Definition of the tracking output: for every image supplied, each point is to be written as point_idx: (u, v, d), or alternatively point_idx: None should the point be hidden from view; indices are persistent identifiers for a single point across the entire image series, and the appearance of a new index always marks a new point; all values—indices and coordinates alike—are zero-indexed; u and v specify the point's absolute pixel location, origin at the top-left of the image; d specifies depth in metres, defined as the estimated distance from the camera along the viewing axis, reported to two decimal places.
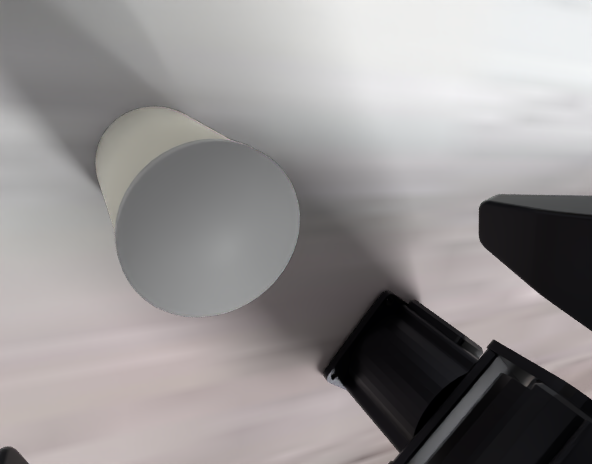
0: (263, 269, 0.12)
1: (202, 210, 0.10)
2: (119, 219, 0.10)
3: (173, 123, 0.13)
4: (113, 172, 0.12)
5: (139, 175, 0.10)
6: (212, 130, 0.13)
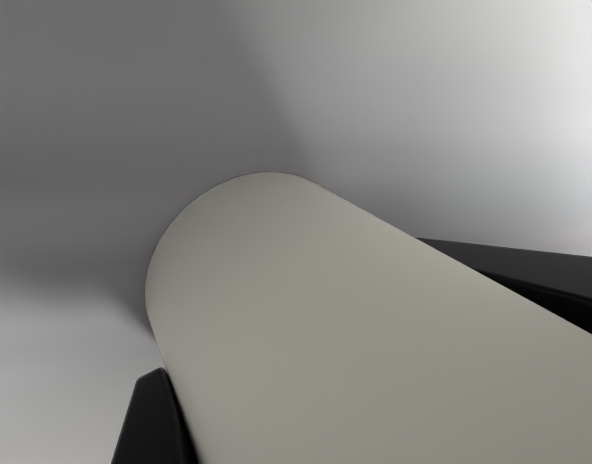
0: None
1: None
2: None
3: (391, 265, 0.05)
4: (247, 439, 0.04)
5: None
6: (492, 281, 0.05)
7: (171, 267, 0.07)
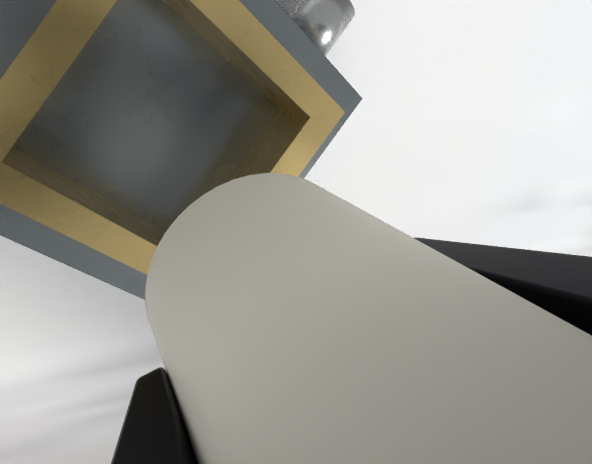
0: None
1: None
2: None
3: (393, 267, 0.05)
4: (248, 443, 0.04)
5: None
6: (494, 284, 0.05)
7: (171, 269, 0.07)
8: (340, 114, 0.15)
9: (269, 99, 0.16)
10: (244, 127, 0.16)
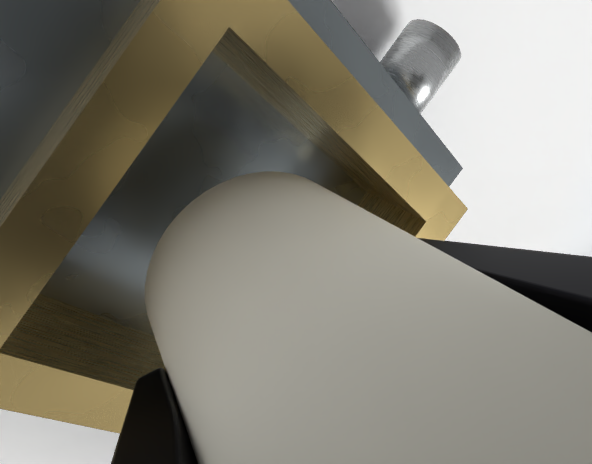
0: None
1: None
2: None
3: (393, 265, 0.05)
4: (248, 441, 0.04)
5: None
6: (495, 281, 0.05)
7: (171, 267, 0.07)
8: (462, 212, 0.11)
9: (355, 182, 0.12)
10: None
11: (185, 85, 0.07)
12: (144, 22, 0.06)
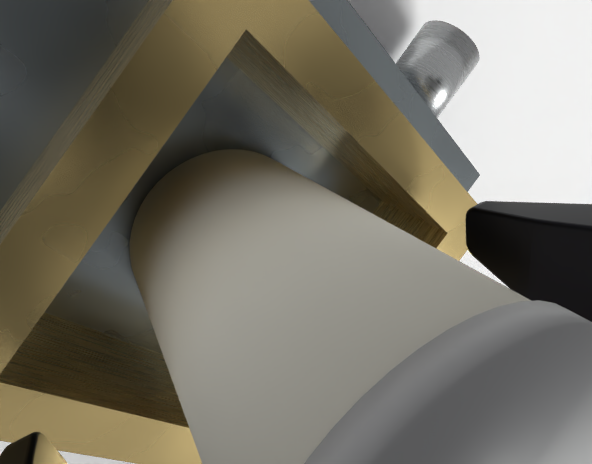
0: None
1: None
2: None
3: (308, 208, 0.06)
4: (195, 325, 0.05)
5: (338, 450, 0.03)
6: (384, 221, 0.06)
7: (149, 223, 0.08)
8: None
9: (370, 190, 0.12)
10: None
11: (198, 92, 0.06)
12: (155, 24, 0.06)
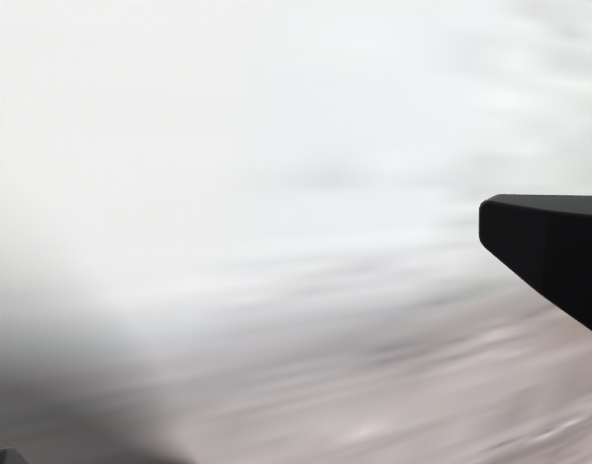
0: None
1: None
2: None
3: None
4: None
5: None
6: None
7: None
8: None
9: None
10: None
11: None
12: None
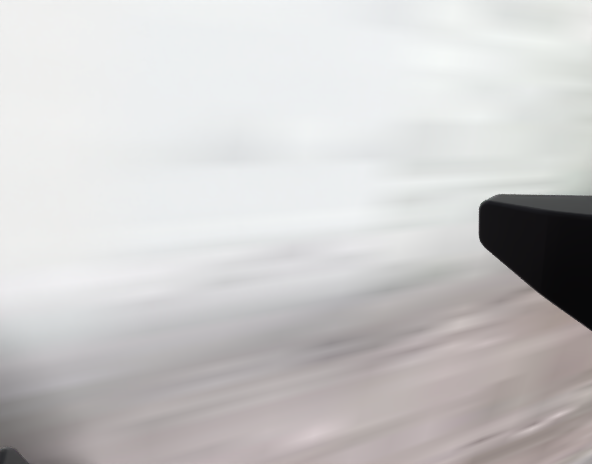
0: None
1: None
2: None
3: None
4: None
5: None
6: None
7: None
8: None
9: None
10: None
11: None
12: None
